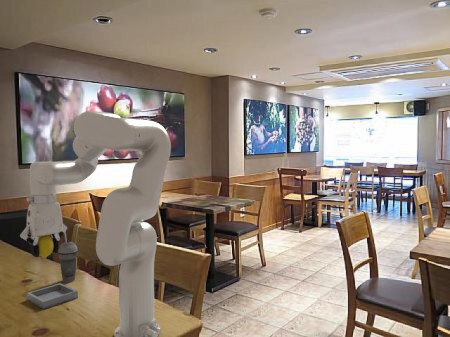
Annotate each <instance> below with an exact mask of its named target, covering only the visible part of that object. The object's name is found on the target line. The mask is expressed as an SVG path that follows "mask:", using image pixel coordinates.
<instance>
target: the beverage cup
mask: <svg viewBox="0 0 450 337" xmlns="http://www.w3.org/2000/svg"><path fill="white" fill-rule="evenodd" d="M66 231H67V230H66ZM66 231H65V232H64V233H63V235H64V240H65V242H63V243H61V244H60V246H59V249H58V253H57V255H58V258H59V264H60V271H61V280H62V283H72V282H74V281H76V271H77V258H78V252H79V251H78V250H79V249H78V246H77V245H76V244H75V243H74V242H73V241H68V240H67V239H68V238H67V233H66Z"/></svg>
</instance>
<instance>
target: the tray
mask: <svg viewBox="0 0 450 337" xmlns="http://www.w3.org/2000/svg"><path fill="white" fill-rule="evenodd" d="M76 299H79V293H78V290H76V289H74V288H72V287H70V286H68V285H65V284H63V283H61V282H60V283H56V284H52V285H49V286H46V287H43V288H40V289H39V288H38V289H36V290H32V291H29V292H26V301H28V302H29V303H32V305H35V306H36V307H39V308H40V309H42V310H46V309H49V308H51V307H54V306H58V305H61V304H64V303H68V302H70V301H73V300H76Z"/></svg>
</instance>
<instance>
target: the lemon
mask: <svg viewBox="0 0 450 337" xmlns="http://www.w3.org/2000/svg"><path fill="white" fill-rule="evenodd" d="M37 245H39V257H42V258H43V259H47V257H49V256H50V255H51V254H52V253H53V252H52V251H53V248H54V243H53V240H52V236H51V235H44V236H39V239H38V242H37Z"/></svg>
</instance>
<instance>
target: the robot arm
mask: <svg viewBox="0 0 450 337" xmlns="http://www.w3.org/2000/svg"><path fill="white" fill-rule="evenodd" d="M73 132H74V135H75V138H74V140H73V142H72V150H73V152H74V153H75V155H76V156H77V157H78V158H76V159H75V160H61V161H33V162H32V163H31V164H30V166H29V174H30V175H29V176H30V180H29V181H30V196H29V197H26V202H27V203H29V202H30V204H28V207H27V208H28V209H27V215H26V227H25V228H24V230H22V232H21V233H20V235H19V237H20V238H21V239H23V240H24V241H26V242H27V243H29V245H30V253H31V255H32V256H33V257H34V258H39V257H40V256H39V245H37V242H38V239H39V237H40V236H44V235H48V236H50V237H51V238H52V240H53V243H54V248H53V251H52V253H55V254H58V250H59V247H60V246H59V241H60V240H61V238H62V236H63V235H64V232H65V231H67V230H68V226H67V225H66V224H64V223H63V221H64V220H63V213H62V209H61V204H60V202H58V201H57V186H64V185H74V184H79V183H82V182H83V181H85V180H86V179H88V178H89V177H90V176H91V175H92V174H94V173H95V172H96V170H97V166H98V164H99V158H100V157H101V156H103V155H104V154H105V153H106V152H107V151H108V150H110V151H116V152H137V151H139V152H141V155H140V156H139V158H138V159H137V161H136V162H135V164H134V166H133V169H132V172H131V173H132V175H131V179H130V182H129V184H128V186H127V187H126V186H125V187H120V188H117V189H113V190H111V191H110V192H109V193H108V194H107V195H106V197H105V199H104V200H103V202H102V204H101V205H102V206H101V210H100V215H99V221H98V226H97V227H98V228H97V232H96V239H95V251H96V255H97V257H98V260H99V261H100V262H101V263H102V264H104V265H105V266H110V267H111V266H112V267H113V266H117V265H120V266H119V272H118V293H119V294H118V296H119V297H118V300H119V301H118V302H119V325H118V326H117V327H116V328H115V330H114V332H113V336H114V337H159V335H160V334H161V333H162V328H161V326H160V324H159V323H158V322H157V318H155V255H156V250H157V244H158V236H157V231H156V229H155V228H154V227H153V226H152V225H151V224H150V223H149V222H145V221H146V220H149V219H151V218H153V217H155V215H157V212H158V210H159V205H160V201H161V196H162V191H163V186H164V181H165V175H166V171H167V168H168V164H169V161H170V157H171V152H172V150H171V149H172V145H171V144H172V142H171V138H170V136H169V134H168V132H167V130H166V129H165V128H164V126H163V125H161V124H159V123H158V122H156V121H153V120H149V119H142V118H129V117H121V116H119V115H118V114H115V113H112V112H107V111H106V112H105V111H97V110H87V111H84V112H81V113H79V115H78V116H77V117H76V119H75V120H74V123H73ZM28 235H30V236H28Z"/></svg>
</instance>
